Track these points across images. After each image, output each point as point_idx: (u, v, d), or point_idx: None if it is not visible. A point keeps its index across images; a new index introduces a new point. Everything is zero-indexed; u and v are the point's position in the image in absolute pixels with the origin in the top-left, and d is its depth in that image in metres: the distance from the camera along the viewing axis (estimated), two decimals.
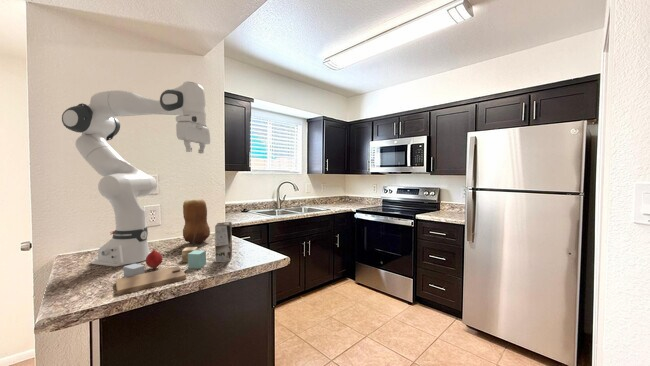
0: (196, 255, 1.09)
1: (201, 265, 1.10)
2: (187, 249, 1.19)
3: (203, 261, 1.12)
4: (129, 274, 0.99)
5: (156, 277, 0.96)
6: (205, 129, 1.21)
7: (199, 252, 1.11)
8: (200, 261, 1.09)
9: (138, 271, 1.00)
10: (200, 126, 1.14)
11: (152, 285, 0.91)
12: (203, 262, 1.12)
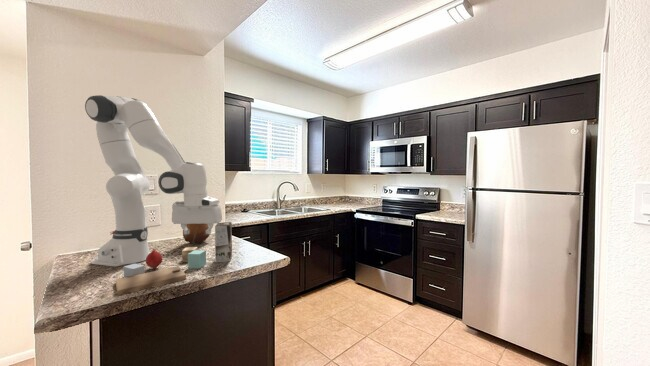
0: (196, 255, 1.09)
1: (201, 265, 1.10)
2: (187, 249, 1.19)
3: (203, 261, 1.12)
4: (129, 274, 0.99)
5: (156, 277, 0.96)
6: None
7: (199, 252, 1.11)
8: (200, 261, 1.09)
9: (138, 271, 0.99)
10: None
11: (152, 285, 0.91)
12: (203, 262, 1.12)
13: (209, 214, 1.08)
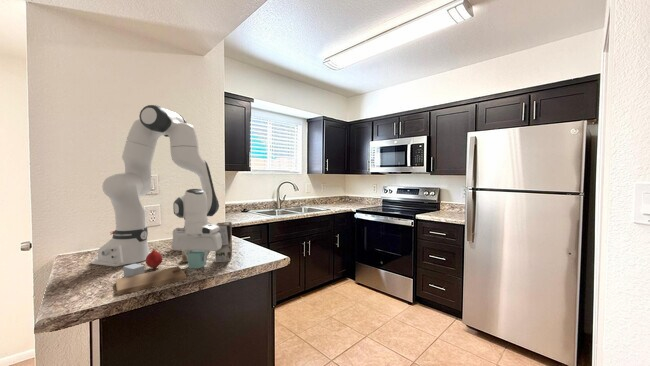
0: (196, 255, 1.09)
1: (201, 265, 1.10)
2: None
3: (203, 261, 1.12)
4: (129, 274, 0.99)
5: (156, 277, 0.96)
6: None
7: (199, 252, 1.11)
8: (200, 261, 1.09)
9: (138, 271, 0.99)
10: None
11: (152, 285, 0.91)
12: (203, 262, 1.12)
13: (209, 242, 1.09)
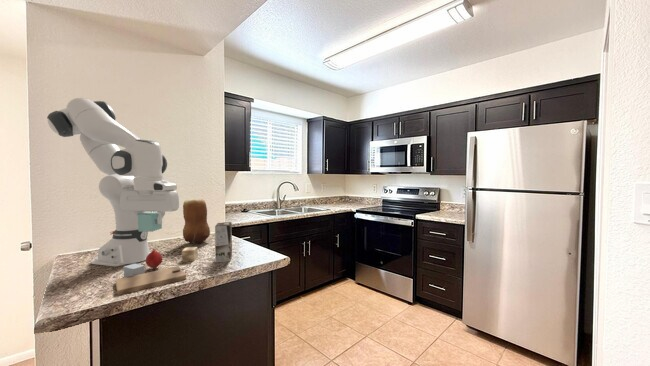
0: (147, 216, 0.93)
1: (154, 228, 0.94)
2: (187, 249, 1.19)
3: (157, 224, 0.96)
4: (129, 274, 0.99)
5: (156, 277, 0.96)
6: None
7: (152, 213, 0.95)
8: (153, 223, 0.93)
9: (138, 271, 0.99)
10: None
11: (152, 285, 0.91)
12: (157, 225, 0.96)
13: (162, 200, 0.93)
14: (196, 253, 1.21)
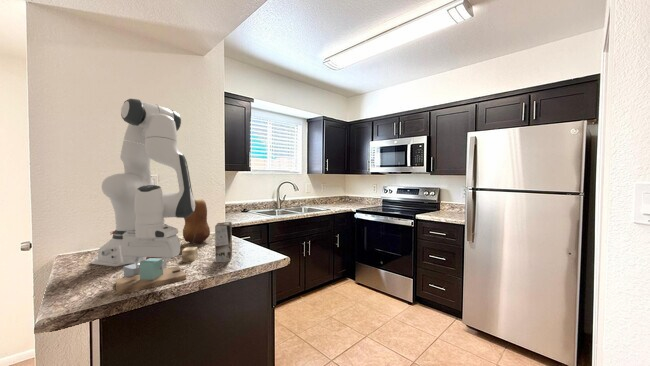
0: (149, 264, 0.94)
1: (155, 276, 0.95)
2: (187, 249, 1.19)
3: (159, 271, 0.97)
4: (129, 274, 0.99)
5: None
6: None
7: (154, 260, 0.96)
8: (154, 271, 0.94)
9: (138, 271, 0.99)
10: None
11: (152, 285, 0.91)
12: (159, 272, 0.97)
13: (164, 247, 0.93)
14: (196, 253, 1.21)
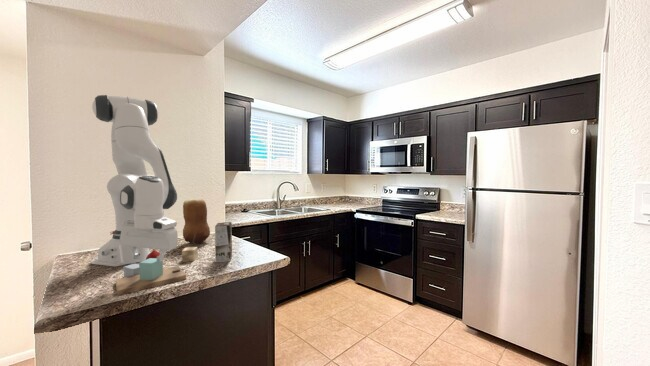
0: (148, 264, 0.93)
1: (155, 276, 0.95)
2: (187, 249, 1.19)
3: (158, 271, 0.96)
4: (129, 274, 0.99)
5: None
6: None
7: (153, 261, 0.96)
8: (153, 271, 0.94)
9: (138, 271, 0.99)
10: None
11: (152, 285, 0.91)
12: (158, 272, 0.96)
13: (161, 239, 0.93)
14: (196, 253, 1.21)
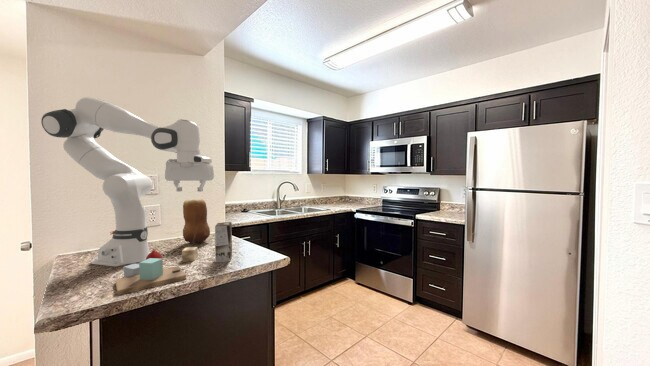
0: (148, 264, 0.93)
1: (155, 276, 0.95)
2: (187, 249, 1.19)
3: (158, 271, 0.96)
4: (129, 274, 0.99)
5: None
6: None
7: (153, 261, 0.96)
8: (153, 271, 0.94)
9: (138, 271, 0.99)
10: None
11: (152, 285, 0.91)
12: (158, 272, 0.96)
13: (200, 171, 1.10)
14: (196, 253, 1.21)
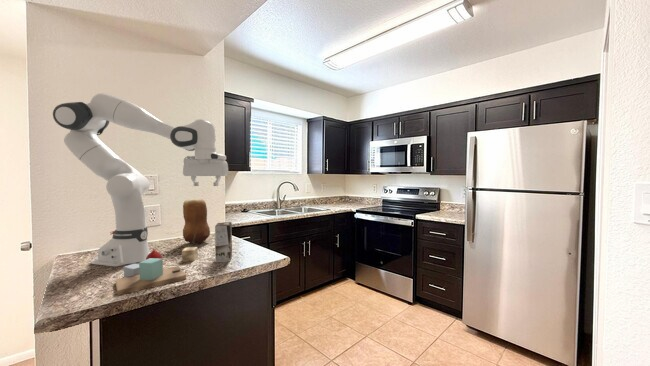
0: (148, 264, 0.93)
1: (155, 276, 0.95)
2: (187, 249, 1.19)
3: (158, 271, 0.96)
4: (129, 274, 0.99)
5: None
6: None
7: (153, 261, 0.96)
8: (153, 271, 0.94)
9: (138, 271, 0.99)
10: None
11: (152, 285, 0.91)
12: (158, 272, 0.96)
13: (217, 167, 1.20)
14: (196, 253, 1.21)
